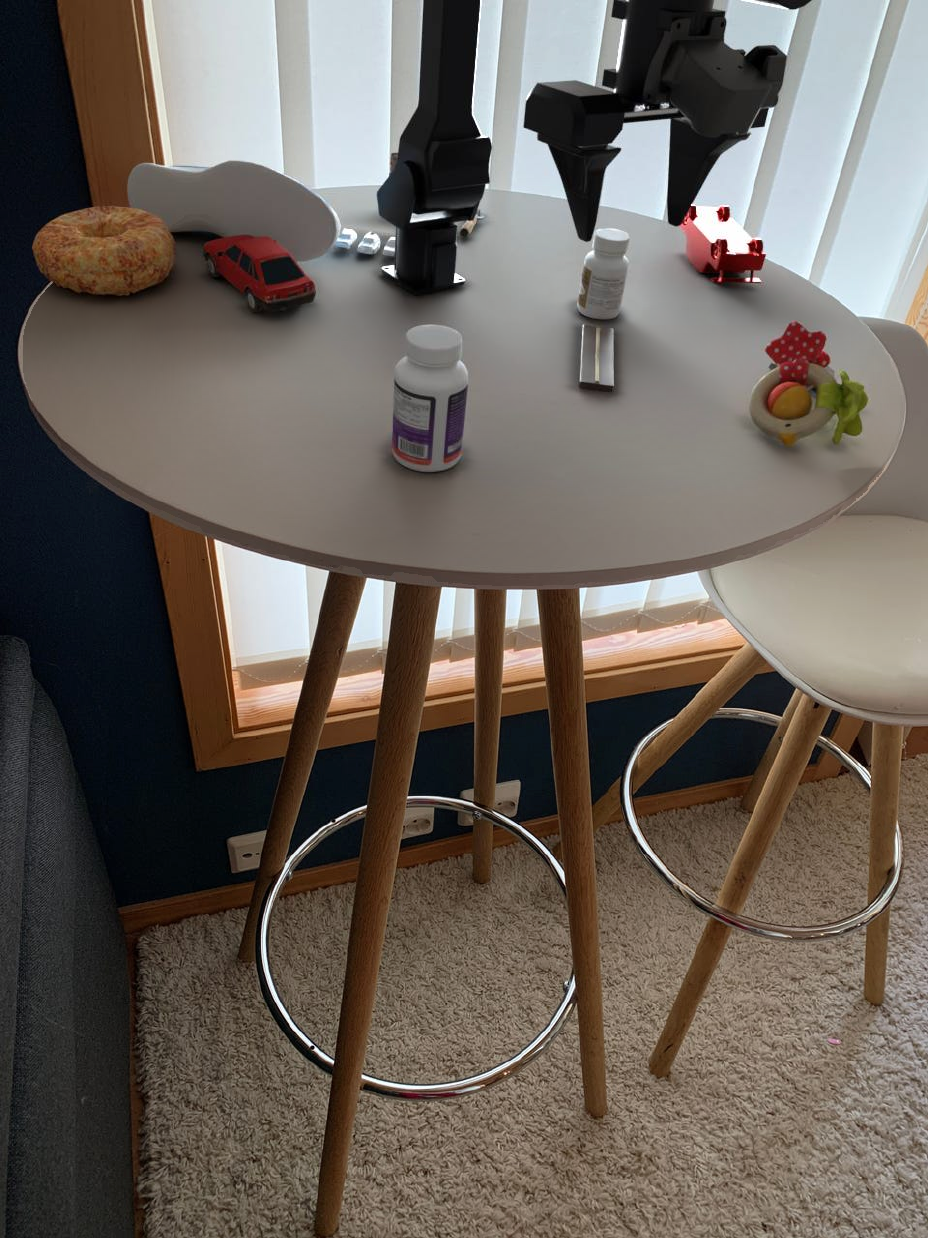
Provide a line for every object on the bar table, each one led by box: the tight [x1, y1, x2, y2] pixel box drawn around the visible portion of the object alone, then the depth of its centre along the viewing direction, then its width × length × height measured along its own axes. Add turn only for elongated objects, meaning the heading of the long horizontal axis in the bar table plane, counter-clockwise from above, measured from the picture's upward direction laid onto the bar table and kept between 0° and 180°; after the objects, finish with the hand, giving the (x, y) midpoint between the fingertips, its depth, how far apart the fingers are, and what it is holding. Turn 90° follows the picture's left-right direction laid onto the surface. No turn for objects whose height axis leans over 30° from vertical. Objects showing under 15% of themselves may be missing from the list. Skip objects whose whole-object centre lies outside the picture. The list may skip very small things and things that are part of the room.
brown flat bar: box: [578, 324, 615, 393], centre depth 87 cm, size 12×3×1 cm, turn 173°
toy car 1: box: [202, 235, 317, 313], centre depth 90 cm, size 6×14×5 cm, turn 37°
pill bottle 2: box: [576, 227, 631, 320], centre depth 93 cm, size 4×4×8 cm
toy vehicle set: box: [334, 228, 395, 258], centre depth 101 cm, size 12×4×2 cm, turn 79°
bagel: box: [31, 205, 177, 297], centre depth 90 cm, size 13×14×5 cm
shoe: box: [126, 159, 342, 263], centre depth 100 cm, size 9×23×12 cm
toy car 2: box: [678, 204, 767, 284], centre depth 106 cm, size 14×6×5 cm, turn 10°
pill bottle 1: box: [391, 324, 469, 473], centre depth 69 cm, size 5×5×10 cm
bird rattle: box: [748, 320, 869, 448], centre depth 79 cm, size 6×11×9 cm
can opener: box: [459, 208, 485, 238], centre depth 110 cm, size 9×2×1 cm, turn 174°
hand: (630, 232), depth 71 cm, fingers open, 9 cm apart
